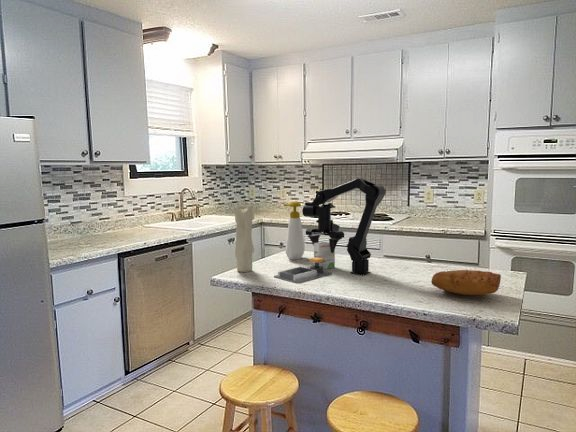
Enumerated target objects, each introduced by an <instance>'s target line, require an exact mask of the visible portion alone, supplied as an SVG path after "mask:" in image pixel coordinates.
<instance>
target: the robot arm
mask: <svg viewBox="0 0 576 432" xmlns="http://www.w3.org/2000/svg"><path fill="white" fill-rule="evenodd" d="M357 189H358V190H359V191H361V193H363V194H365V198H364V199H365V206H364V208H363V213H362V216H361V218H360V221H359V224H358V227H357V228H356V229H357V230H356V232H355V235H354V236H350V237H349V238H348V243H347V244H346V247H347V248H346V252H348V255H349V257H350V261H351V271H349V272H350V274H352V275H358V276H362V277H363V276H366V275H369V274H372V273H371V271H370V269H369V268H370V267H369V264H370V263H369V262H370V261H369V259H370V258H371V256H372V253H371V252H370V251H369V250H368V249H367V245H368V244H367V243H368V242H367V241H368V240H367V236H368V233H369V230H370V228H371V225H372V222H373V219H374V217H375V213H376V210H377V208H378V206H379V205H380V203H382V201H383V199H384V198H385V196H386V188H385V187H384V185H382V184H376V183H374V182H371V181H368V180H366V179H364V178H362V177H358V178H355V179H353V180H351V181H348V182H346V183H342V184H341V185H338V186H335V187H333V188H327V189H322V190H318V191H317V192H316V194H315V197H314V199H313V201H312V202H310V201H307V202H306V201H305V202H304V205H303V207H302V210H301V211H302V212H301V213H302V215H303V216H304V218H305V217H306V218H317V219H316V221H315V222H316V223H317V227H310V228H306V230H305V236H307V237H308V238H309V239H310V242H311V243H312V245H313V246H314V243H318V242H319V239H320V237H321V236H328V237H329V238H328V241H329V243H330V250H331V253H334V250H336V247H337V245H338V242H339V241H341V240H342V239H343V238H345V232H344V230H340V225H338V224H336V223H334V221H333V219H332V218H331V216H332V213H331V212H332V209H336V206H335V204H333V203H332V201H335V199H337V197H339V196H342V195H344V194H347V193H349V192H352V191H355V190H357ZM326 203H328V204H326Z"/></svg>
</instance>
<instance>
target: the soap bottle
mask: <svg viewBox="0 0 576 432" xmlns="http://www.w3.org/2000/svg"><path fill="white" fill-rule="evenodd" d="M283 206H284V207H289V208H293V211H291V212H290V213H289V219H288V226H287V227H288V228H287V233H286V242H285V254H286V257H287V258H288V259H289V260H290V261H298V260H300V259H301V258H302V257H303V255H304V254H305V247H306V246H305V239H304V235H303V233H304V232H303V228H302V220H301V219H302V218H301V217H300V216H301V215H300V211H297V208H299V207H300V208H301V207H302V204H301V203H300V202H299V201H291V202H289V203H283Z"/></svg>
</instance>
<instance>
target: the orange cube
mask: <svg viewBox="0 0 576 432" xmlns="http://www.w3.org/2000/svg"><path fill="white" fill-rule="evenodd" d="M323 261H324V258H319V257H315V258H314V257H311V258H309V262H311V263H314V262H315V267H319V262H323Z"/></svg>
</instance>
